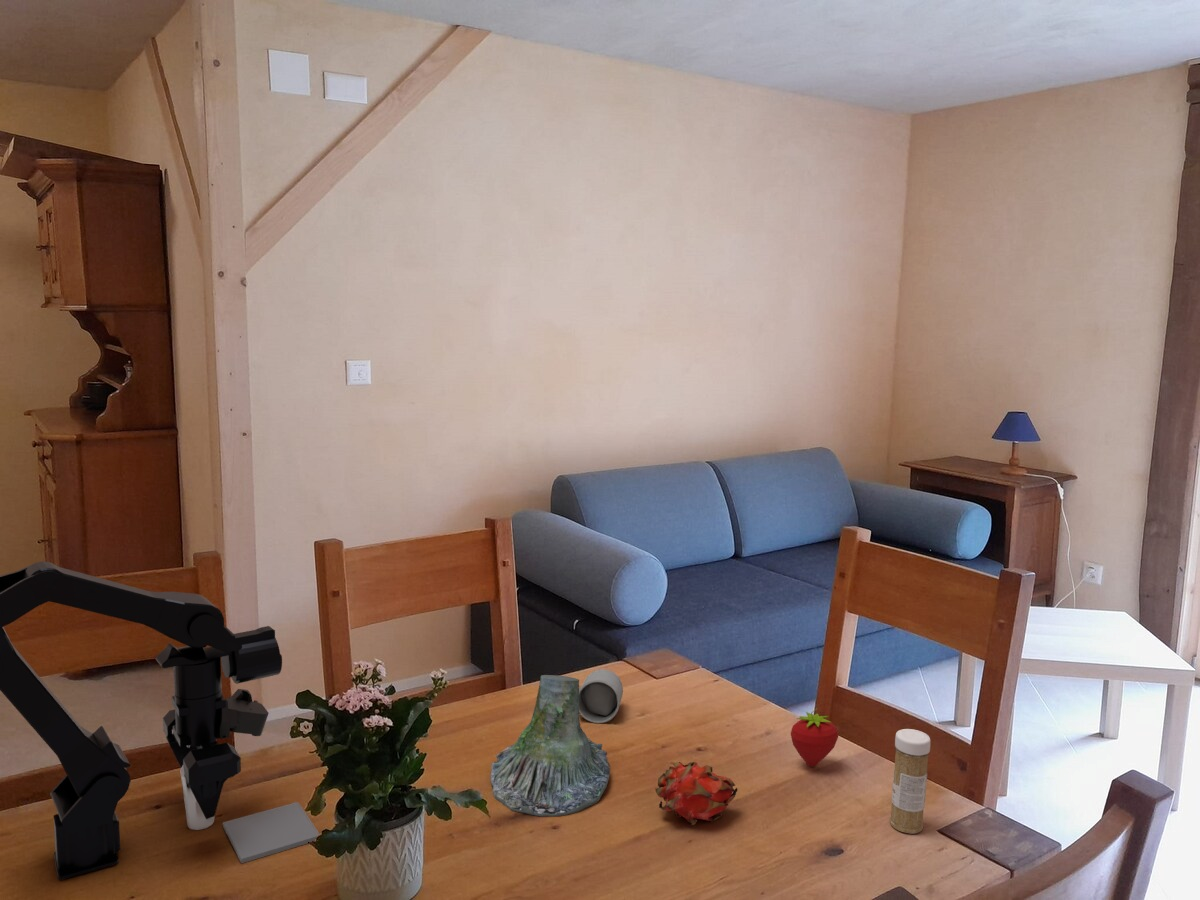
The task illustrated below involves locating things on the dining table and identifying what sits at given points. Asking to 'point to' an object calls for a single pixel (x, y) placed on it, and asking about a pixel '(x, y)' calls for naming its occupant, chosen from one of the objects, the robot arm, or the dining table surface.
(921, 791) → the spice jar
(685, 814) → the dragon fruit
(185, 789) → the milkshake
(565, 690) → the tree stump
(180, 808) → the dining table surface
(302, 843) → the coaster
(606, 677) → the ceramic mug
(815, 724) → the strawberry
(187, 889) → the dining table surface
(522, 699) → the dining table surface
